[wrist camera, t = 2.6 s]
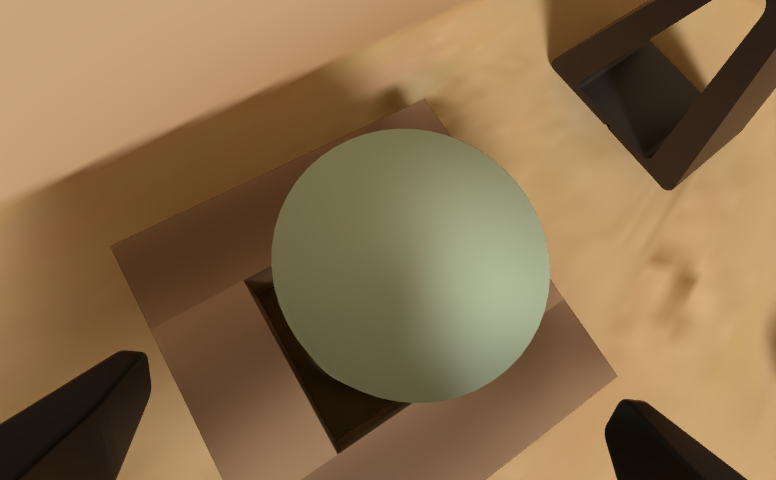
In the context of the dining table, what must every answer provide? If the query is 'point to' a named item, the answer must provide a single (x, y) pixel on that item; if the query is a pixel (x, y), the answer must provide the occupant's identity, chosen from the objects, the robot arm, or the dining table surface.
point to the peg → (410, 265)
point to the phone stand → (669, 88)
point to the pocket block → (281, 378)
